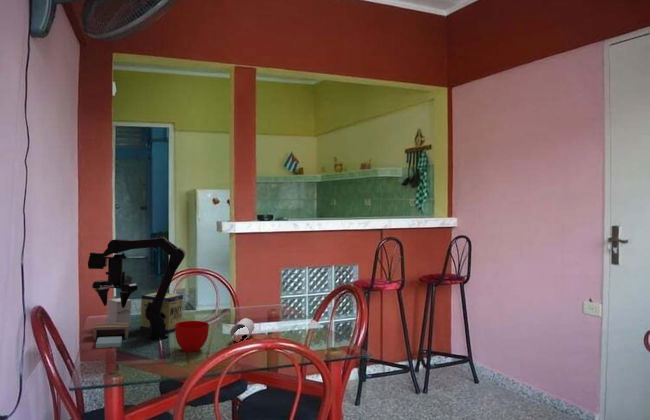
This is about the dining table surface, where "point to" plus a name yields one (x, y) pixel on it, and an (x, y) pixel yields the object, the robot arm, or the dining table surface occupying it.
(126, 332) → the low shelf
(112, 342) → the grey-blue square plate
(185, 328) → the ceramic cup
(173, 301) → the protein box
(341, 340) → the dining table surface
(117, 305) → the supplement box
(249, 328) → the white plastic bottle
